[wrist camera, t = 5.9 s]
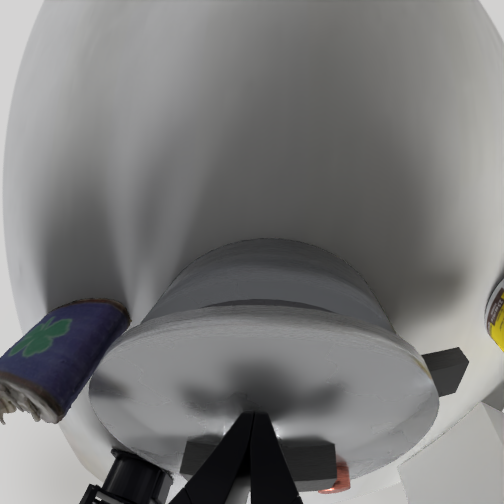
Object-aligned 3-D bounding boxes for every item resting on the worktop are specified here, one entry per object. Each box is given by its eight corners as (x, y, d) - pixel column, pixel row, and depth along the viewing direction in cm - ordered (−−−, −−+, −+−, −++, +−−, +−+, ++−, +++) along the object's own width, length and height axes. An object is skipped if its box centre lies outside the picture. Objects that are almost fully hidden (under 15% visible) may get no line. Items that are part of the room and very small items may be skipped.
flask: (57, 338, 19) (-17, 418, 9) (41, 307, 18) (-43, 382, 8) (138, 330, 17) (52, 455, 7) (120, 290, 16) (9, 407, 6)
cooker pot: (189, 424, 20) (173, 471, 15) (136, 245, 15) (85, 282, 10) (404, 415, 18) (419, 461, 13) (453, 231, 13) (506, 263, 8)
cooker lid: (163, 464, 15) (154, 496, 12) (43, 298, 8) (0, 347, 6) (380, 465, 13) (384, 499, 11) (484, 285, 6) (530, 344, 4)
